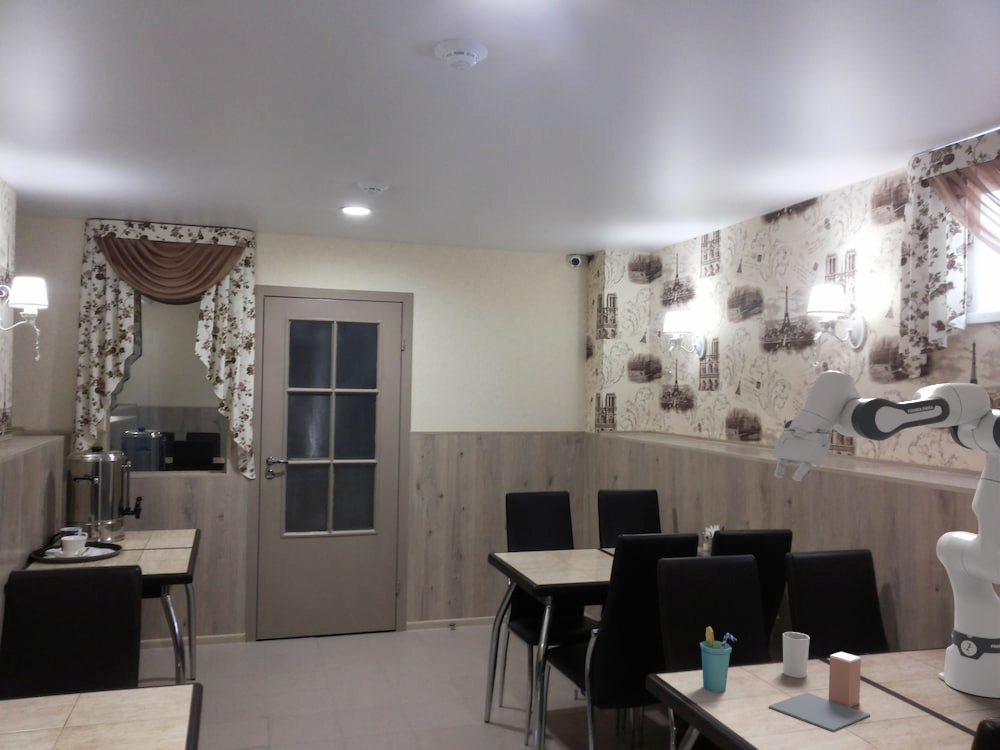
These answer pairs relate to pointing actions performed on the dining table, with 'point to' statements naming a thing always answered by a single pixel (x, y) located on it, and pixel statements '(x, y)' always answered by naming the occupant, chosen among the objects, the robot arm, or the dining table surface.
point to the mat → (819, 711)
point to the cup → (715, 661)
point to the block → (844, 679)
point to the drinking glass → (795, 654)
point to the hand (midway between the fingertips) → (786, 478)
